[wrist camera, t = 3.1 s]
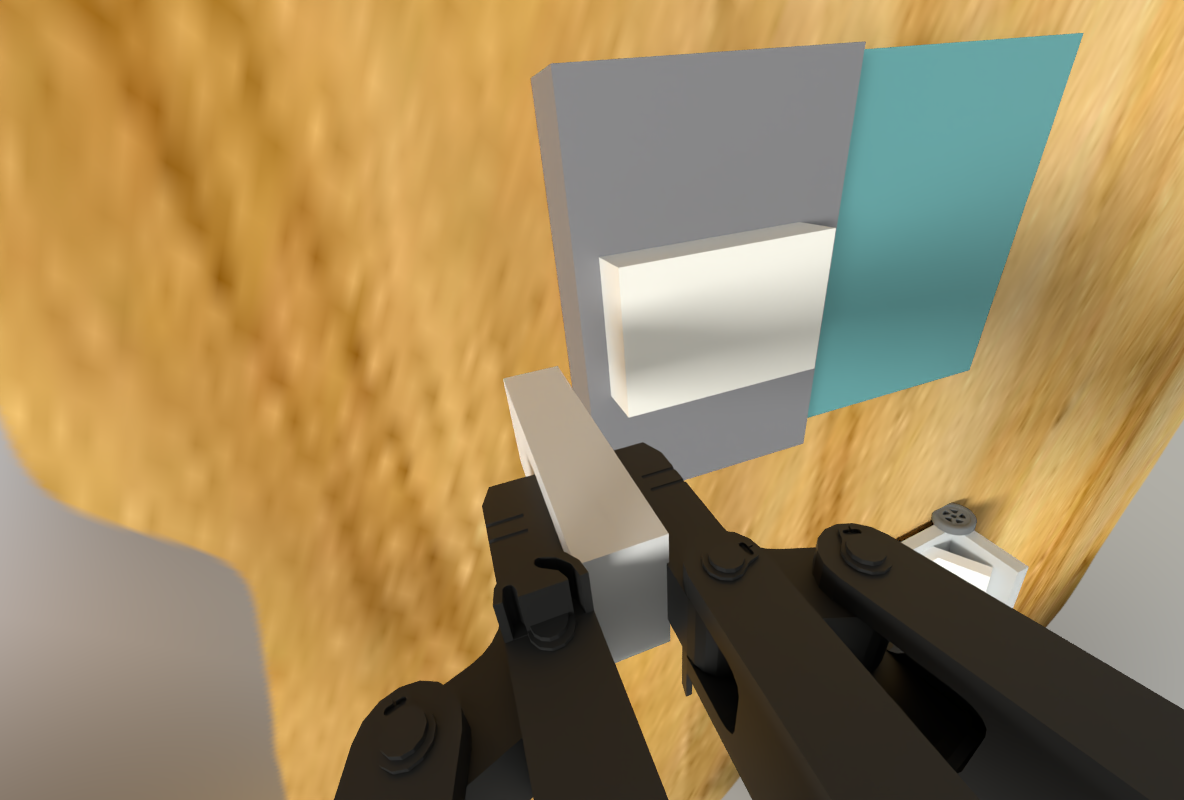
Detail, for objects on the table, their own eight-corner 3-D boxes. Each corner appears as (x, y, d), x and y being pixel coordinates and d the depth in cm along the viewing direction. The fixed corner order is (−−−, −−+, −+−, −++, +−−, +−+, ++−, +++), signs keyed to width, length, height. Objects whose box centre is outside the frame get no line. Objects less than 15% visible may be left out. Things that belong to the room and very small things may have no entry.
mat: (954, 364, 32) (969, 370, 31) (782, 414, 28) (793, 421, 28) (1059, 37, 23) (1083, 32, 22) (827, 55, 20) (845, 50, 19)
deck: (768, 418, 28) (803, 443, 26) (583, 471, 25) (601, 505, 23) (807, 57, 19) (865, 41, 17) (530, 78, 17) (550, 63, 14)
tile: (784, 352, 22) (814, 368, 21) (611, 396, 20) (628, 417, 19) (799, 221, 19) (836, 227, 18) (598, 257, 17) (618, 267, 16)
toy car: (866, 775, 36) (875, 706, 30) (782, 659, 44) (776, 587, 38) (1045, 667, 38) (1087, 583, 32) (934, 577, 47) (951, 497, 40)
